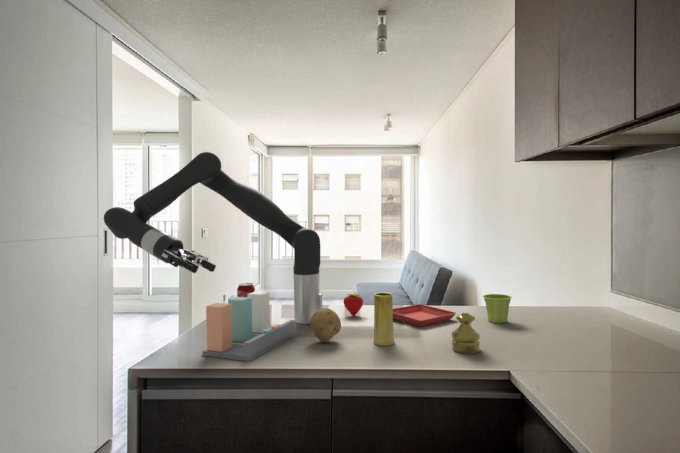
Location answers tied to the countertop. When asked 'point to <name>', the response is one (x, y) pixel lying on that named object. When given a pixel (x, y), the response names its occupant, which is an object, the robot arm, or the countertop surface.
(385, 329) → the vase
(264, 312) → the key cream
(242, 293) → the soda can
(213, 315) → the key terracotta
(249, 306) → the key teal
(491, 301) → the plant pot
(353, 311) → the strawberry
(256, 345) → the grey divided tray
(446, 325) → the countertop surface
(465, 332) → the olive glossy tiered piece
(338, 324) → the natural sponge
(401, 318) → the plant saucer
